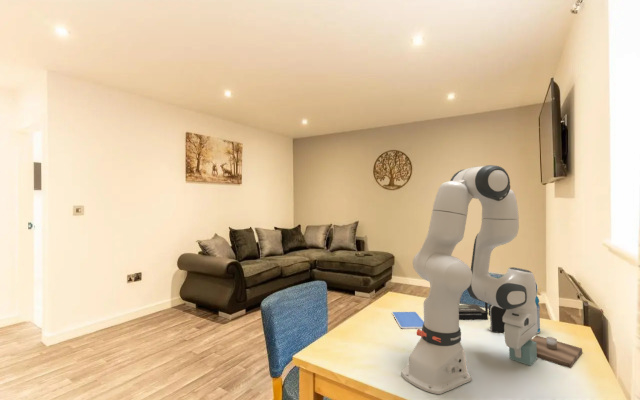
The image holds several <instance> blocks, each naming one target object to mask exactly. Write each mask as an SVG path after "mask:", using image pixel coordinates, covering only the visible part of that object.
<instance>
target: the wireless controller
mask: <svg viewBox="0 0 640 400" xmlns="http://www.w3.org/2000/svg"><path fill="white" fill-rule="evenodd" d="M488 316H489V304H488V303H486V302H484V309H483V308H482V307H480V305H478V304H459V321H488V319H489V317H488Z"/></svg>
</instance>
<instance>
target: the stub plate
mask: <svg viewBox="0 0 640 400" xmlns="http://www.w3.org/2000/svg"><path fill="white" fill-rule="evenodd" d="M532 341H534V342H536V343H537V359H538V358H539V359H542V360H545V361H547V362H550V363H553V364H556V365H560V366H563V367H566V368H568V369H571V368H572V367H573V365H574V364H575V363H576V362H577V360H578V359H579V358H580V357H581V355H582V353H583V347H578V346H575V345H571V344H569V343H564V342H562V341H558V340H557V338H555V337H553V336H546V337H544V336H540V335H535V336H533V337H532Z"/></svg>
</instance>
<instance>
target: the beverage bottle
mask: <svg viewBox="0 0 640 400" xmlns="http://www.w3.org/2000/svg"><path fill="white" fill-rule="evenodd" d="M537 287H538V286H537V284H536V298H535V303H536V306H537V326H538V331H537V334H540V333H541V316H540V315H541V313H540V310H541V307H540V304H539V303H540V299H539V296H538V295H537V292H538V289H537Z"/></svg>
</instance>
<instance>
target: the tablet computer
mask: <svg viewBox="0 0 640 400" xmlns="http://www.w3.org/2000/svg"><path fill="white" fill-rule="evenodd" d="M392 313H393V315H394V316H393V315H392V316H393V318H394V317H395V318H394V319H396V320H395V322H396V323H397V325H398V326H399V329H401V328H402V330H416V329H417V330H418V329H419V330H422V327H423V324H424V319H423V318H421V316H420V315H419V314H418V312H416V311H392V312H391V314H392Z"/></svg>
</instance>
